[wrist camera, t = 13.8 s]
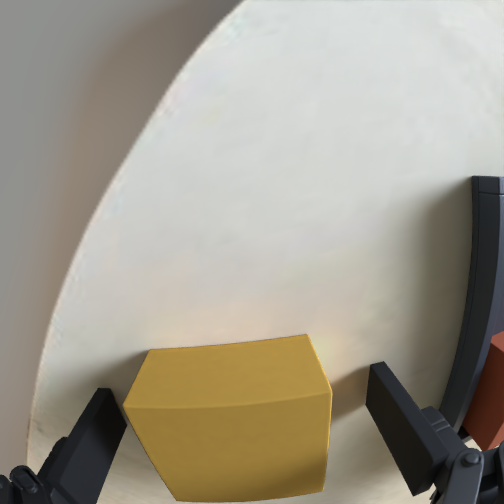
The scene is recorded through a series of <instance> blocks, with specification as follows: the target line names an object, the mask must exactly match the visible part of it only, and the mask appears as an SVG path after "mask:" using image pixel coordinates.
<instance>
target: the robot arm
mask: <svg viewBox="0 0 504 504" xmlns="http://www.w3.org/2000/svg"><path fill="white" fill-rule="evenodd" d="M365 405H366V407H367V408H368V410H369V412H370V414H371V416H372V418H373V420H374V422H375V423H376V425H377V427H378V429H379V431H380V433H381V435H382V437H383V439H384V441H385V442H386V444H387V446H388V448H389V450H390V452H391V454H392V456H393V458H394V460H395V462H396V464H397V466H398V468H399V470H400V472H401V474H402V476H403V478H404V479H405V481H406V483H407V485H408V487H409V489H410V491H411V493H412V495H413V496H416V495H418V494H420V493H423V492H425V491H427V490H429V489H430V487H431V486H432V484H433V483H434V485H435V486H436V490H435V491H434V493H433V494H432V495H431V497H430V499H429V500H431V503H430V504H504V440H503V441H502V442H501V443H500V445H499V447H497V448H494V449H490V450H486V451H481V452H480V451H479V450H478V449H474V448H468V447H467V446H466V445H465V444H464V443H463V441H462V440H461V439H460V437H459V436H458V435H457V433H456V432H455V431H454V429H453V428H452V427H451V426H450V424H449V423H448V422H447V420H445V418H444V417H443V415H442V414H441V413H440V412H439V411H438V410H436V409H434V408H433V407H431V406H430V407H427V408H424V409H422V410H420V409H419V407H418V406H417V404H416V403H415V402H414V400H413V399H412V398H411V396H410V395H409V394H408V392H407V391H406V390H405V388H404V387H403V386H402V384H401V383H400V382H399V380H398V379H397V378H396V376H395V375H394V374H393V372H392V371H391V370H390V368H389V367H388V366H387V365H386V363H385V362H384V361H383V362H380V363H376V364H371V365H370V373H369V381H368V389H367V396H366V403H365ZM126 427H127V424H126V422H125V420H124V418H123V416H122V414H121V412H120V410H119V408H118V405H117V403H116V401H115V399H114V397H113V394H112V392H111V390H110V389H105V388H98V389H97V390H96V392H95V394H94V395H93V397H92V398H91V400H90V402H89V403H88V405H87V406H86V408H85V410H84V411H83V413H82V415H81V416H80V418H79V420H78V421H77V423H76V425H75V426H74V428H73V430H72V431H71V433H70V435H69V436H68V438H67V437H62V438H61V439H60V440H59V441H57V442H56V444H55V445H54V447H53V448H52V451H51V452H50V454H49V455H48V456H49V457H47V459H46V460H45V462H44V464H43V465H42V467H41V469H40V471H39V472H38V474H37V476H36V475H35V474H34V472H33V471H32V470H31V469H30V468H29V467H28V466H24V465H21V466H17V467H15V468H14V469H13V470H12V471H11V473H10V478H9V479H10V480H11V481H12V482H10V481H9V480H8V479H7V478H6V477H5V476H4V475H0V504H96V503H97V500H98V497H99V495H100V492H101V489H102V487H103V484H104V482H105V479H106V476H107V474H108V471H109V469H110V466H111V464H112V461H113V459H114V456H115V454H116V451H117V449H118V446H119V444H120V441H121V439H122V437H123V434H124V432H125V429H126Z"/></svg>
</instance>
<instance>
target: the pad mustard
mask: <svg viewBox="0 0 504 504" xmlns="http://www.w3.org/2000/svg"><path fill="white" fill-rule="evenodd" d="M331 408H332V389H331V386H330V384H329V382H328V379H327V377H326V375H325V372H324V370H323V368H322V366H321V363H320V361H319V359H318V356H317V354H316V352H315V350H314V347H313V345H312V343H311V340H310V338H309V336H308V335H307V334H305V335H298V336H291V337H284V338H277V339H269V340H261V341H253V342H244V343H234V344H224V345H213V346H200V347H186V348H168V349H151V350H149V352H148V354H147V356H146V358H145V360H144V362H143V364H142V366H141V368H140V370H139V372H138V374H137V376H136V378H135V380H134V382H133V384H132V386H131V388H130V390H129V392H128V394H127V396H126V399H125V401H124V403H123V409H124V411H125V413H126V415H127V417H128V419H129V421H130V423H131V425H132V427H133V429H134V431H135V433H136V435H137V437H138V439H139V441H140V442H141V444H142V446H143V448H144V450H145V452H146V453H147V455H148V457H149V458H150V460H151V462H152V464H153V465H154V467H155V469H156V470H157V472H158V473H159V475H160V477H161V478H162V480H163V481H164V483H165V485H166V486H167V488H168V489H169V491H170V492H171V494H172V495H173V496H174V498H175V499H176V501H183V502H245V501H259V500H270V499H278V498H286V497H293V496H300V495H306V494H311V493H316V492H321V491H323V489H324V482H325V474H326V465H327V456H328V446H329V435H330V423H331Z"/></svg>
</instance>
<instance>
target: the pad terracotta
mask: <svg viewBox="0 0 504 504" xmlns="http://www.w3.org/2000/svg"><path fill="white" fill-rule="evenodd" d="M461 425H462V426H463V427H464V428H465V429H466V431H467V432H468V433H469V434H470V436H471V437H472V438H473V440H474V441H475V442H476V443H477V445H478V446H479V447H480V448H481V450H482V451H486V450H490V449H493V448H495V447H496V446H498V445H499V444H500V443H501V442H502V441H503V440H504V331H502V332H500V333H498V334H496V335H494V336H492V339H491V343H490V347H489V350H488V354H487V357H486V361H485V364H484V367H483V370H482V373H481V376H480V379H479V382H478V385H477V388H476V390H475V393H474V396H473V398H472V401H471V403H470V406H469V408H468V411H467V413H466V415H465V418H464V420H463V422H462V424H461Z"/></svg>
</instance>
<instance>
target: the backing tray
mask: <svg viewBox="0 0 504 504" xmlns="http://www.w3.org/2000/svg"><path fill="white" fill-rule="evenodd" d="M472 190H473V240H472V257H471V269H470V279H469V288H468V295H467V302H466V309H465V315H464V320H463V326H462V331H461V335H460V340H459V345H458V349H457V353H456V357H455V361H454V365H453V369H452V372H451V376H450V379H449V383H448V386H447V389H446V392H445V395H444V398H443V401H442V404H441V407H440V410H439V412H440V413H441V414H442V415H443V417H444V418H445V420H447V422H448V423H449V424H450V426H451V427H452V428H453V429H454V431H455V432H456V433H457V435H458V436H459V437H460V439H461V440H462V441H463V443H465V442H467V441H469V440H471V439H472V437H471V436H470V434H469V433H468V432H467V431H466V429H465V428H464V427H463V426H462V425H461V424H462V422H463V420H464V418H465V415H466V413H467V411H468V408H469V406H470V403H471V401H472V398H473V396H474V393H475V390H476V388H477V385H478V382H479V379H480V376H481V373H482V370H483V367H484V364H485V361H486V357H487V354H488V350H489V347H490V343H491V339H492V336H494V335H496V334H498V333H500V332H502V331H504V177H494V176H472Z"/></svg>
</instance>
